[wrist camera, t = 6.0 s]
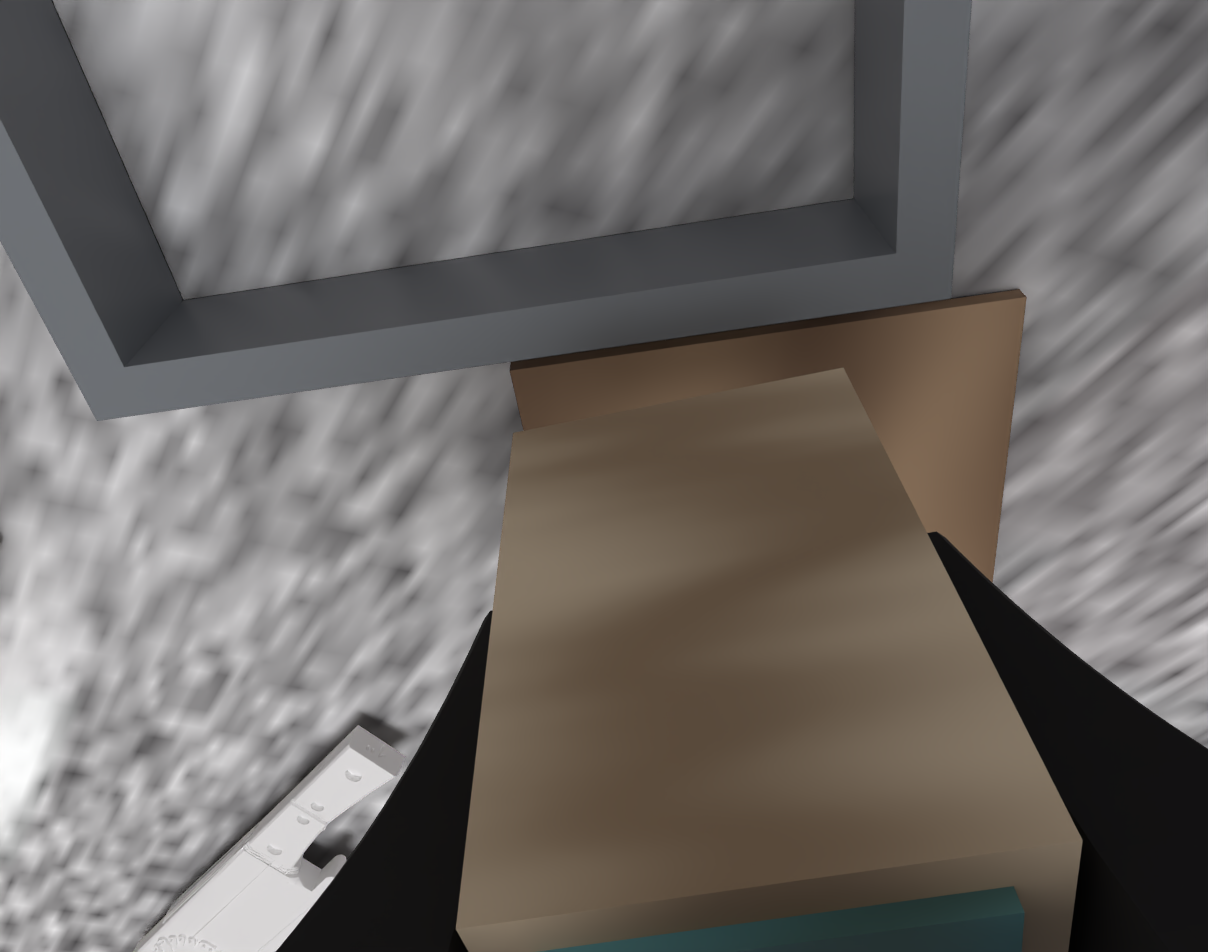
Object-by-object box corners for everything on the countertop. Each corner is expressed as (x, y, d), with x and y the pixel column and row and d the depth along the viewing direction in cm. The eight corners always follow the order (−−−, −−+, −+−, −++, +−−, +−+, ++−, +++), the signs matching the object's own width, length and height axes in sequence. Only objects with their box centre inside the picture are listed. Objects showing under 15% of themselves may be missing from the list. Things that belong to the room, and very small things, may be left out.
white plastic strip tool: (498, 815, 27) (490, 847, 26) (258, 1002, 34) (245, 1033, 33) (357, 724, 26) (343, 753, 25) (137, 937, 33) (119, 966, 32)
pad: (1018, 289, 20) (1026, 297, 19) (977, 654, 26) (982, 665, 25) (511, 362, 20) (509, 370, 20) (588, 700, 26) (588, 711, 26)
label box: (843, 367, 12) (1095, 865, 6) (862, 613, 15) (1055, 1139, 9) (512, 433, 13) (452, 956, 7) (586, 660, 15) (589, 1190, 9)
